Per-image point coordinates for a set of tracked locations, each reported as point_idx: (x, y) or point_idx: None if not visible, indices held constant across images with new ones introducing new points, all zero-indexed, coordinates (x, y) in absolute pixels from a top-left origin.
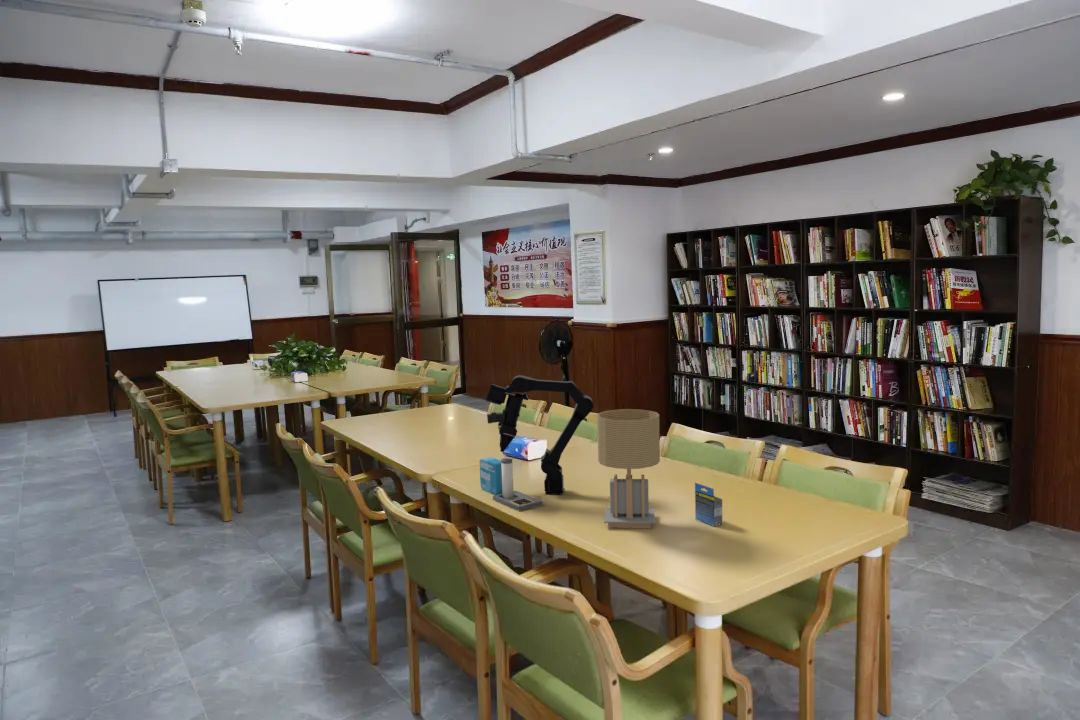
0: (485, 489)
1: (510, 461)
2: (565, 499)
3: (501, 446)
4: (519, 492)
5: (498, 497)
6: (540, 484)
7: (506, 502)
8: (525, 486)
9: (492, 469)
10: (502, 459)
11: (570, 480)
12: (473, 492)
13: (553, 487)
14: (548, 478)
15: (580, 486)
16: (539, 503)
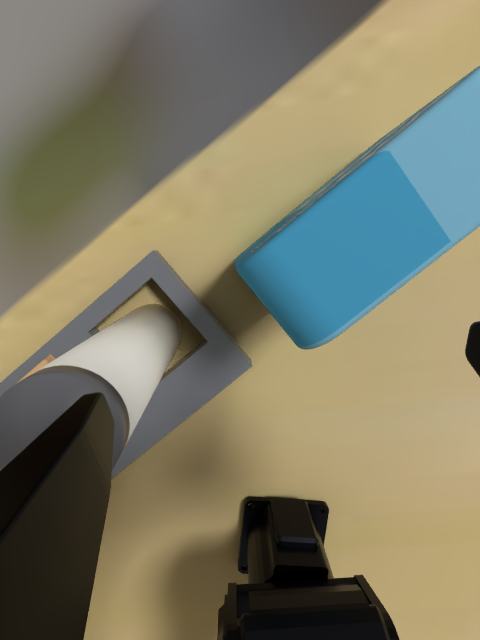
0: (328, 181)
1: None
2: (170, 581)
3: (22, 459)
4: (215, 389)
5: (123, 287)
6: (418, 460)
7: (51, 339)
8: (391, 391)
9: (277, 231)
10: (59, 388)
11: (467, 585)
12: (300, 112)
13: (247, 558)
14: (228, 586)
15: None
16: None
